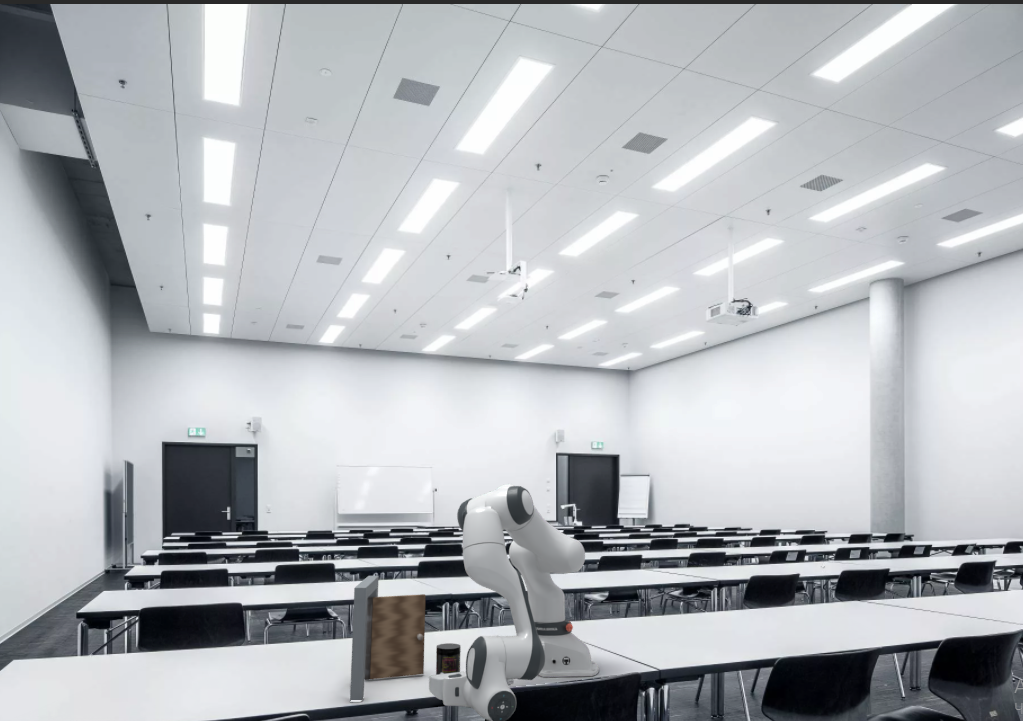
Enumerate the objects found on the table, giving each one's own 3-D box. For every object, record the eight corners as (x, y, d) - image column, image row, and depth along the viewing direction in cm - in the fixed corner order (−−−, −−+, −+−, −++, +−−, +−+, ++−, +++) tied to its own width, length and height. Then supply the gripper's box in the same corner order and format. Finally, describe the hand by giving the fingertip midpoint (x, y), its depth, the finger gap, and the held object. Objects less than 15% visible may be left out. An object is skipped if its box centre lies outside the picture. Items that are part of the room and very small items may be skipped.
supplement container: (455, 681, 192) (456, 642, 194) (463, 687, 186) (464, 647, 188) (432, 684, 190) (433, 644, 192) (439, 690, 184) (440, 649, 185)
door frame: (364, 676, 197) (368, 575, 202) (375, 676, 197) (378, 575, 202) (349, 702, 173) (354, 587, 178) (361, 702, 174) (366, 587, 179)
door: (366, 681, 190) (369, 599, 194) (364, 678, 193) (367, 597, 197) (424, 675, 196) (426, 595, 200) (422, 672, 199) (424, 594, 203)
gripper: (516, 669, 173) (496, 657, 185) (439, 678, 165) (423, 664, 177) (516, 696, 171) (496, 681, 184) (438, 706, 163) (422, 690, 176)
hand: (459, 673), depth 180 cm, fingers open, 8 cm apart
